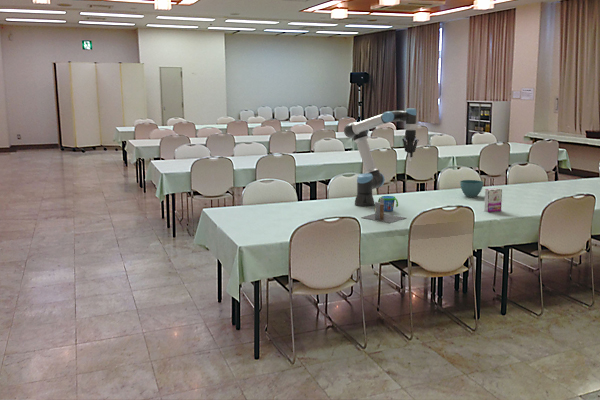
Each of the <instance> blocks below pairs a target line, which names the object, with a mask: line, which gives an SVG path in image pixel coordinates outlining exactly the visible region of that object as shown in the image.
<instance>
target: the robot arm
mask: <svg viewBox="0 0 600 400" xmlns="http://www.w3.org/2000/svg"><path fill="white" fill-rule="evenodd" d="M393 122H405V131H404V132H405V136H404V138H402V140H401V141H402V143H403V148H404V152H406V157H407V162H408V163H409V162H412V161H413V160H412V159H413V155H414V154H413V153H415V152H416V149H417V147H418V143H419V141H420V140H419V139H418V138H417V136H416V135H417V134H416V133H417V132H416V129H417V109H416V108H415V107H414V108H410V107H409V108H406V109H405V110H392V111H384V112H383V113H382V114H381V113H380V114H378V115H375V116H373V117H370V118H367V119H364V120H361V121H358V122H355V121H354V122H351V123H348V124H346V125H345V126H344V128H343V132H344V133H343V134H344V135H345V137H347V138H349V139H352V140H353V142H354V143H356V146H357V148H358V151H359V155H360V158H361V161H362V164H363V167H364V170H365V172H364V173H360V174H358V175H357V179H356V182H357V183H356V195H355V196H356V197H355V199H354V205H355V206H359V207H370V206H375V200H374V196H373V190H375V189H379V188H381V187H382V186H384V184H385V180H386V179H385V176H384V174H383V173H381V172H380V169H378V168H377V165H376V163H375V160H374V157H373V155H372V151H371V148H370V145H369V142H368V137H369V136H368V133H369V130H371V129H375V128H377V127H379V126H380V127H381V126H382V125H385V124H390V123H393Z"/></svg>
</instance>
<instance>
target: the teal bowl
mask: <svg viewBox="0 0 600 400" xmlns="http://www.w3.org/2000/svg"><path fill="white" fill-rule="evenodd" d="M459 184H460V188H461V191H462V194H464V196H465V198H466V197H467V198H476V197H478V195H480V193H481V192H482V189H483V186H484V181H482V180H475V179H474V180H473V179H464V180H460V181H459Z"/></svg>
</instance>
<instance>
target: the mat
mask: <svg viewBox="0 0 600 400" xmlns="http://www.w3.org/2000/svg"><path fill="white" fill-rule="evenodd" d="M384 214H385V215H383V220H381V219H380V216H379V220H375V213H372V214H368V215H365V216H362V217H361V216H360V217H361V218H360V219H365V220H370V221H376V222H381V223H387V224H393V223H396V222H398V221H403V220H405V219H407V217H405V216H399V215H394V214H388V213H384Z"/></svg>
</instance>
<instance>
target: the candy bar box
mask: <svg viewBox="0 0 600 400" xmlns="http://www.w3.org/2000/svg"><path fill="white" fill-rule="evenodd" d="M502 198H503V189H502V188H499V187H498V188H486V189H484V212H486V213H497V212H498V213H499V212H501V211H502V202H503V201H502V200H503V199H502Z"/></svg>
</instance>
